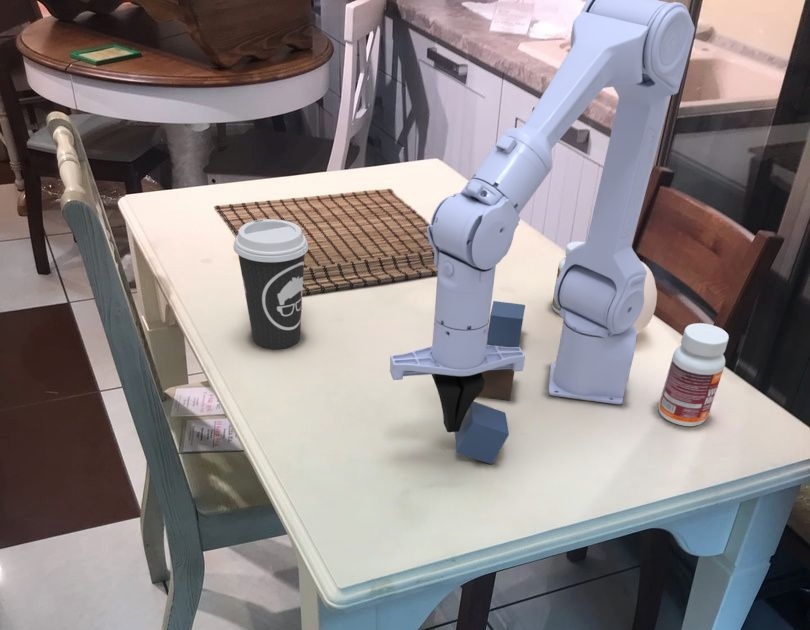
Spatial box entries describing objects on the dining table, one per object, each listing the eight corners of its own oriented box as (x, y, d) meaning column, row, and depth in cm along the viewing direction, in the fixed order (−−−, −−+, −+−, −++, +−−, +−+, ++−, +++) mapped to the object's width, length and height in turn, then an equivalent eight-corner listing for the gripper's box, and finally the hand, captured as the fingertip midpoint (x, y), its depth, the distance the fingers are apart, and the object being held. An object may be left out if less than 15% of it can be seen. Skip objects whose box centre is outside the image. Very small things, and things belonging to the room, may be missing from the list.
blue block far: (520, 333, 120) (525, 304, 117) (518, 348, 117) (523, 318, 114) (489, 329, 121) (493, 300, 118) (486, 344, 117) (490, 314, 114)
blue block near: (488, 442, 99) (505, 412, 97) (491, 464, 96) (509, 434, 93) (454, 430, 98) (470, 400, 95) (456, 452, 95) (472, 421, 92)
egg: (651, 353, 118) (672, 275, 110) (590, 349, 118) (607, 271, 110) (640, 324, 124) (659, 249, 117) (582, 321, 124) (598, 245, 116)
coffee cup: (308, 320, 120) (304, 216, 110) (314, 353, 113) (311, 244, 103) (240, 323, 119) (231, 217, 109) (242, 356, 112) (232, 246, 102)
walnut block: (512, 382, 110) (517, 352, 107) (509, 400, 106) (514, 369, 103) (478, 378, 110) (482, 347, 107) (474, 396, 107) (478, 365, 104)
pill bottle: (707, 431, 103) (735, 349, 96) (657, 423, 104) (681, 341, 97) (705, 405, 108) (732, 325, 100) (657, 397, 109) (680, 317, 101)
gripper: (516, 296, 91) (501, 403, 100) (385, 303, 88) (382, 412, 97) (537, 327, 86) (519, 437, 95) (399, 335, 83) (394, 447, 92)
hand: (451, 427), depth 95 cm, fingers closed
